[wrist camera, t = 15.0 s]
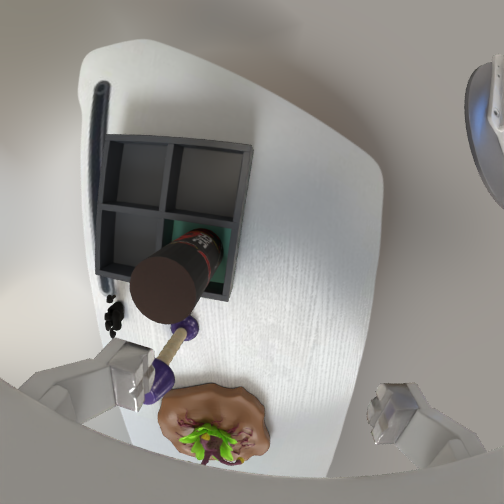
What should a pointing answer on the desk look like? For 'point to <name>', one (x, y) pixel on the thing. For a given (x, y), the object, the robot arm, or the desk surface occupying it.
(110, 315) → the wireless earbuds
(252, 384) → the desk surface
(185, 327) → the toy lamp
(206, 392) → the plant
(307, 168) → the desk surface
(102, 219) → the compartment tray
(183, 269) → the deodorant
